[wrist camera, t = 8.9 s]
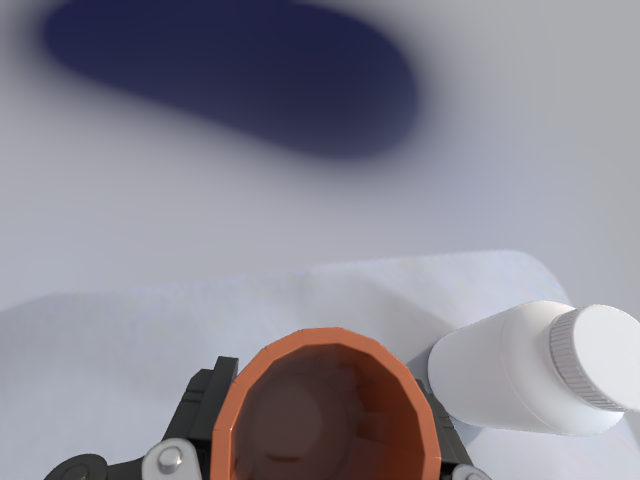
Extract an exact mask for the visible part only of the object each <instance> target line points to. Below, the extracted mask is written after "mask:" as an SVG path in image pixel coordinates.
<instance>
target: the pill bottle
mask: <svg viewBox="0 0 640 480" xmlns="http://www.w3.org/2000/svg"><path fill="white" fill-rule="evenodd" d="M428 378H429V382H430V386H431V389H432V391H433V393H434V395H435V397H436V398H437V400H438V401H439V402H440V403H441V404H442V405H443V406H444V408H445V410H446V411H447V412H448V413H449V414H450V415H451V416H453V417H454V418H456V419H457V420H459V421H461V422H463V423H466V424H469V425H472V426H477V427H486V428H496V429H506V430H516V431H526V432H536V433H546V434H556V435H565V436H579V437H583V436H592V435H596V434H598V433H601V432H604V431H606V430H608V429H610V428H611V427H613V426H614V425H615V424H616V423H617V422H618V421H619V420H620V419H621V417H622V416H623V414H624V412H640V323H639V322H637V321H636V320H635V319H634V318H633V317H631V316H629V315H628V314H626V313H624V312H623V311H621V310H618V309H616V308H613V307H610V306H606V305H598V304H596V305H588V306H584V307H581V308H577V309H575V308H573V307H570V306H568V305H565V304H562V303H558V302H552V301H532V302H528V303H524V304H521V305H518V306H516V307H513V308H511V309H508V310H506V311H503V312H501V313H498V314H496V315H493V316H491V317H488V318H486V319H483V320H481V321H478V322H476V323H473V324H471V325H468V326H466V327H463V328H461V329H458V330H456V331H453V332H451V333H449V334H447V335H445V336H444V337H442V338H441V339H440V340H439V341H438V342H437V343H436V344H435V345H434V347H433V349H432V351H431V353H430V356H429V360H428Z"/></svg>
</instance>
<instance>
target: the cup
mask: <svg viewBox="0 0 640 480" xmlns="http://www.w3.org/2000/svg"><path fill="white" fill-rule="evenodd" d="M440 457H441V452H440V447H439V442H438V438H437V433H436V428H435V423H434V419H433V414H432V410H431V408H430V405H429V403H428V402H427V400H426V398H425V396H424V395H423V393H422V391H421V389H420V388H419V386H418V384H417V382H416V381H415V379H414V377H413V376H412V374H411V372H410V370H409V369H407V366H405V365H404V364H403V363H402V362H401V361H400V360H399V359H397V358H396V357H395V356H394V355H393V354H392V353H390V352H389V351H388V350H387V349H386V348H385V347H384V346H382V345H381V344H380V343H379V342H377V341H376V340H374V339H371V338H368V337H365V336H363V335H360V334H357V333H354V332H352V331H349V330H346V329H343V328H339V327H333V328H314V329H302V330H298V331H296V332H294V333H292V334H290V335H288V336H286V337H284V338H282V339H280V340H278V341H276V342H274V343H271V344H269V345H267V346H265V347H264V348H263V349H262V350H261V351H260V352H259V353H258V354H257V355H256V356H255V357H254V358H253V359H252V360H251V361H250V363H249V364H248V365H247V366H246V367H245V368H244V369H243V370H242V371H241V372H240V373H239V375H238V376H237V377H236V378H235V379H234V380H233V382H232V383H231V385H230V388H229V390H228V393H227V395H226V397H225V400H224V402H223V405H222V407H221V410H220V412H219V414H218V417H217V419H216V422H215V424H214V426H213V431H212V440H211V458H210V477H209V480H439V476H440V467H441V458H440Z"/></svg>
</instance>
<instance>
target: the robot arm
mask: <svg viewBox="0 0 640 480" xmlns="http://www.w3.org/2000/svg"><path fill="white" fill-rule="evenodd" d="M238 362H239V359H238V358H232V357H223V356H219V357H218V359H217V362H216V364H215V367H214V369H213V370H209V369H201V370H200V371H199V372H198V373H196V374H195V375H194V376H193V377H192V378H191V380H190V382H189V384H188V386H187V388H186V392H185V393H184V395H183V397H182V399H181V401H180V403H179V405H178V407H177V409H176V412H175V414H174V416H173V418H172V420H171V422H170V424H169V426H168V428H167V431H166V433H165V435H164V437H163V439H162V440H161V442H160V443H158V444H156V445H155V446H154V447H152V448H151V449H150V450H149V451H148V453H147V454H146V455H145V456H143V457H141V458H139V459H136V460H133V461H129V462H124V463H120V464H115V465H110V466H107V462H106V461H105V459H104V458H103V457H101V456H99V455H96V454H83V455H78V456H75V457H72V458H70V459H68V460H66V461H64V462H62V463H61V464H59V465H58V466H57V467H56V468H54V469H53V470H52V471H51V472H50V473H49V474H48V475H47V476H46V478H45V479H44V480H209V477H210V458H211V440H212V431H213V426H214V424H215V422H216V419H217V417H218V414H219V412H220V410H221V407H222V405H223V402H224V400H225V397H226V395H227V393H228V390H229V388H230V385H231V383H232V382H233V380H234V379H235V378H236V377H237V371H238ZM415 381H416V382H417V384H418V386H419V388H420V389H421V391H422V393H423V395H424V396H425V398H426V400H427V402H428V403H429V405H430V408H431V410H432V414H433V419H434V423H435V428H436V433H437V438H438V442H439V447H440V452H441V457H440V458H441V467H440V476H439V480H492V479H491V478H490V477H489V476H488V475H487V474H485V473H484V472H483V471H481V470H480V469H478V468H476V467H474V465H473V464H472V462H471V460H470V458H469V456H468V454H467V452H466V450H465V448H464V446H463V444H462V442H461V440H460V438H459V436H458V434H457V432H456V430H454V426H453V424H452V422H451V420H449V416H448V414H447V412H446V410H445V408H444V406H443V405H442V404H441V403H440V402H439V401H438V400H437V398H436V397H435V396H434V395H432V394H427V392H426V390H425V388H424V386H423V384H422V382H421V380H419V379H415Z"/></svg>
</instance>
